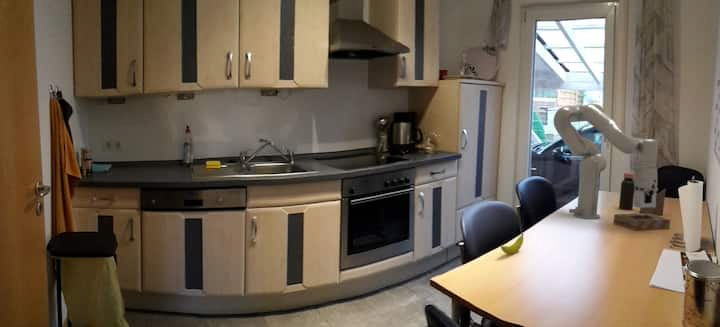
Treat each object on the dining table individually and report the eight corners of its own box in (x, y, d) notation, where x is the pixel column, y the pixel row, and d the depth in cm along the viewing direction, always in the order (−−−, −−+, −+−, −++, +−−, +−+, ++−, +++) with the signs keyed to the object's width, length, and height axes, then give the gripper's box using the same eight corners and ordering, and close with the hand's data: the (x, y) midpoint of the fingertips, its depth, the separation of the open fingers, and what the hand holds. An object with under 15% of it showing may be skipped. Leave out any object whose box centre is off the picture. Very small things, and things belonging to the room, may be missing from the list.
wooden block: (662, 215, 284) (665, 182, 281) (639, 212, 290) (642, 180, 287) (662, 214, 287) (666, 181, 284) (640, 211, 293) (643, 179, 290)
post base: (634, 230, 251) (635, 221, 250) (613, 223, 264) (614, 214, 264) (669, 228, 256) (670, 219, 255) (646, 221, 269) (647, 212, 269)
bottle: (634, 210, 294) (637, 174, 291) (620, 209, 296) (624, 174, 293) (630, 208, 301) (633, 173, 298) (617, 207, 302) (620, 172, 299)
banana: (496, 258, 204) (497, 242, 203) (518, 248, 218) (519, 233, 217) (503, 260, 202) (504, 243, 201) (525, 249, 216) (526, 234, 215)
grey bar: (639, 207, 255) (641, 191, 254) (633, 206, 259) (634, 189, 258) (655, 206, 258) (656, 190, 257) (648, 205, 262) (650, 189, 261)
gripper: (628, 162, 263) (625, 199, 265) (654, 167, 247) (651, 206, 249) (640, 162, 265) (637, 198, 267) (668, 166, 249) (664, 205, 251)
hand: (644, 201), depth 258 cm, fingers closed on grey bar, 4 cm apart
